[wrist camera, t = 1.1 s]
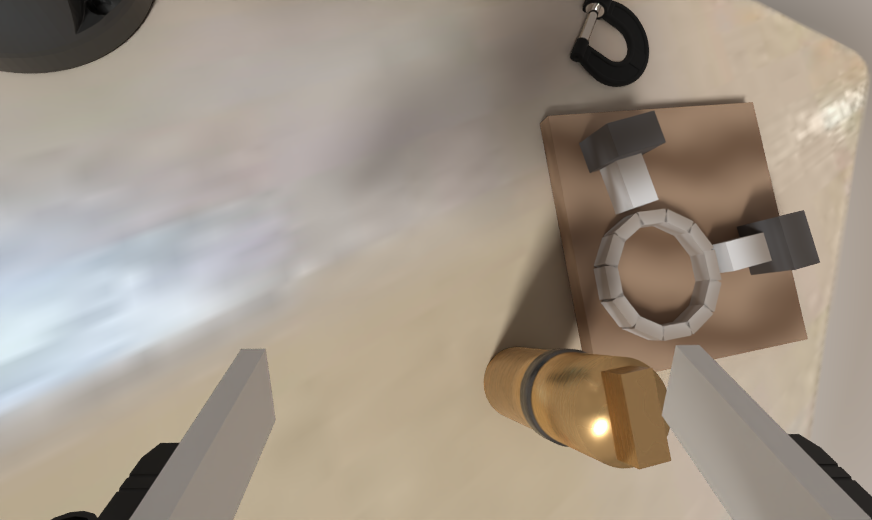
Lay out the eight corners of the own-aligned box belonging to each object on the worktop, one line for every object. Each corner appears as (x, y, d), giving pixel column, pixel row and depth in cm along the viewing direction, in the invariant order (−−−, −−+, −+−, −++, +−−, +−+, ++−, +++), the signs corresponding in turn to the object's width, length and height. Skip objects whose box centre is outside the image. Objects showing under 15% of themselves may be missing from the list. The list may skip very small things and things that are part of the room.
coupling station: (539, 123, 39) (573, 92, 34) (738, 109, 43) (794, 80, 38) (588, 381, 37) (631, 390, 32) (790, 338, 41) (856, 340, 36)
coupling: (476, 351, 35) (580, 367, 21) (544, 339, 36) (685, 345, 22) (488, 427, 35) (603, 495, 21) (557, 412, 36) (710, 466, 22)
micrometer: (630, 103, 41) (650, 89, 39) (556, 63, 40) (572, 46, 38) (679, -36, 45) (700, -58, 42) (612, -77, 44) (629, -101, 41)
